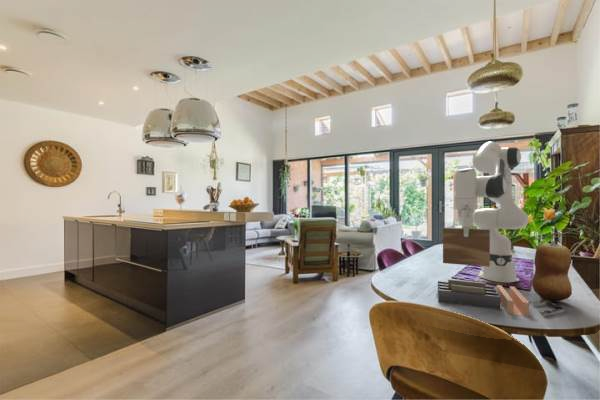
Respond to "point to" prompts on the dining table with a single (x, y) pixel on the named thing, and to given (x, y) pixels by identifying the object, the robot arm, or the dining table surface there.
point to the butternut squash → (552, 272)
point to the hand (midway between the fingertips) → (465, 236)
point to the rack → (469, 297)
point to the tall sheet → (466, 247)
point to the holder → (513, 301)
